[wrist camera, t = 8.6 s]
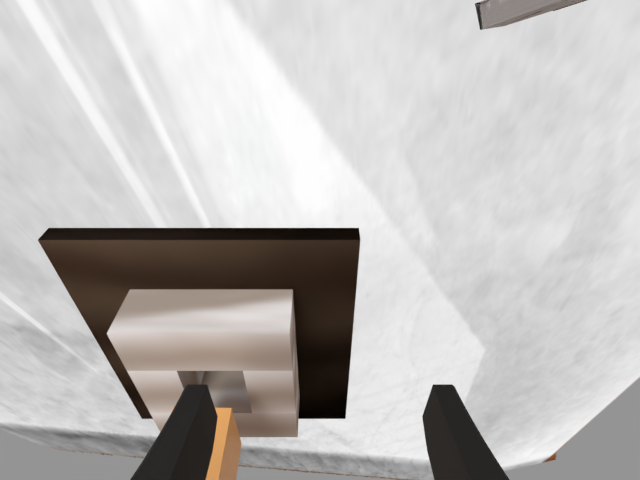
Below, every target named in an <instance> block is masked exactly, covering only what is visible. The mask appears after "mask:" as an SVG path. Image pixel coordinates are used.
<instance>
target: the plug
mask: <svg viewBox="0 0 640 480" xmlns="http://www.w3.org/2000/svg"><path fill="white" fill-rule="evenodd" d="M173 409H174V408H173ZM173 409H172V411H173ZM215 410H216V413H217V416H218V418H217V425H216V433H215V440H214V446H213V452H212V456H211V460H210V464H209V468H208V472H207V476H206V480H236V477H237V470H238V464H239V457H240V451H241V444H242V443H241V439H240V436H239V432H238V429H237V425H236V422H235V418H234V414H233V411H232V408H215ZM171 413H172V412H171Z"/></svg>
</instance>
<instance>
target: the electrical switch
mask: <svg viewBox="0 0 640 480" xmlns="http://www.w3.org/2000/svg"><path fill="white" fill-rule="evenodd" d="M584 1H587V0H483V1H481V2H478V3H475V7H476V11H477V16H478V22H479V27H480V30H483V29H489V28H495V27H502V26H506V25H509V24H512V23H516V22H519V21H522V20H525V19H528V18H531V17H535V16H538V15H541V14H544V13H547V12H550V11H556V10H559V9H562V8H565V7H568V6H571V5H574V4H577V3H580V2H584Z"/></svg>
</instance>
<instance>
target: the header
mask: <svg viewBox="0 0 640 480" xmlns="http://www.w3.org/2000/svg"><path fill="white" fill-rule="evenodd" d="M38 241H39V243H40V245H41V247H42V248H43V250H44V252H45V253H46V255H47V257H48V259H49V260H50V262H51V264H52V265H53V267H54V269H55V271H56V272H57V274H58V276H59V277H60V279H61V281H62V283H63V284H64V286H65V288H66V289H67V291H68V293H69V295H70V296H71V298H72V300H73V301H74V303H75V305H76V307H77V308H78V310H79V312H80V313H81V315H82V317H83V319H84V320H85V322H86V324H87V325H88V327H89V329H90V331H91V332H92V334H93V336H94V337H95V339H96V341H97V343H98V344H99V346H100V348H101V349H102V351H103V353H104V355H105V356H106V358H107V360H108V361H109V363H110V365H111V367H112V368H113V370H114V372H115V373H116V375H117V377H118V379H119V380H120V382H121V384H122V386H123V387H124V389H125V391H126V392H127V394H128V396H129V398H130V399H131V401H132V403H133V404H134V406H135V408H136V410H137V411H138V413H139V415H140V416H141V418H142V419H153V420H154V421H155V423H156V425H157V427H158V429H159V431H160V432H161V430H162V428H163V427H164V425H165V423H166V421H167V420H168V418H169V416H170V414H171V412H172V409H173V408H174V407H175V405H176V403H177V402H178V400H179V398H180V396H181V394H182V392H183V390H184V388H185V386H187V385H188V384H207V386H208V389H209V392H210V395H211V398H212V401H213V404H214V407H215V408H232V411H233V414H234V418H235V422H236V425H237V429H238V432H239V436H240V437H298V419H346V407H347V395H348V383H349V371H350V359H351V347H352V335H353V323H354V311H355V299H356V287H357V275H358V263H359V251H360V233H359V228H48V229H47V230H46V231H45V232H44V234H43V235H42V236H41V237H40V238H39V239H38Z"/></svg>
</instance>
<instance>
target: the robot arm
mask: <svg viewBox="0 0 640 480" xmlns="http://www.w3.org/2000/svg"><path fill="white" fill-rule="evenodd" d="M217 418H218V416H217V413H216V410H215V407H214V404H213V401H212V398H211V395H210V392H209V389H208V386H207V384H188V385H187V386H185V388H184V390H183V392H182V394H181V396H180V398H179V400H178V402H177V403H176V405H175V407H174V409H173V411H172V413H171V414H170V416H169V418H168V420H167V421H166V423H165V425H164V427H163V428H162V430H161V432H160V434H159V435H158V437H157V438H156V440H155V442H154V443H153V445H152V447H151V448H150V450H149V451H148V453H147V455H146V456H145V458H144V459H143V461H142V463H141V464H140V466H139V467H138V469H137V470H136V472H135V473H134V475H133V476H132V478H131V479H130V480H206V476H207V472H208V468H209V464H210V460H211V456H212V452H213V446H214V440H215V433H216V425H217ZM422 418H423V425H424V433H425V440H426V446H427V452H428V456H429V460H430V464H431V468H432V472H433V476H434V480H510V479H509V478H508V476H507V475H506V473H505V472H504V470H503V469H502V467H501V466H500V464H499V463H498V461H497V460H496V458H495V456H494V455H493V453H492V452H491V450H490V448H489V447H488V445H487V444H486V442H485V440H484V439H483V437H482V435H481V434H480V432H479V430H478V429H477V427H476V425H475V423H474V422H473V420H472V418H471V416H470V415H469V413H468V411H467V409H466V407H465V406H464V404H463V402H462V400H461V398H460V396H459V394H458V392H457V390H456V388H455V386H453V385H452V384H433V386H432V389H431V392H430V395H429V398H428V401H427V404H426V407H425V410H424V413H423V416H422Z"/></svg>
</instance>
